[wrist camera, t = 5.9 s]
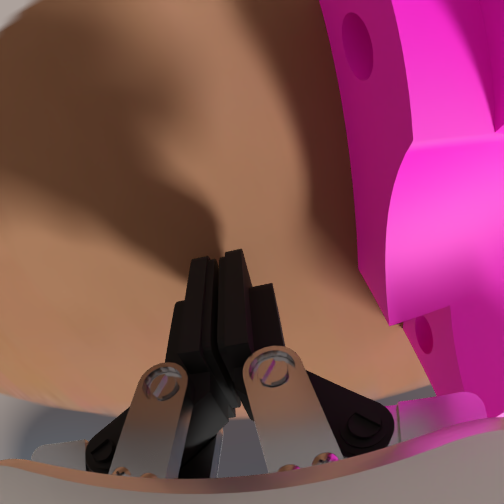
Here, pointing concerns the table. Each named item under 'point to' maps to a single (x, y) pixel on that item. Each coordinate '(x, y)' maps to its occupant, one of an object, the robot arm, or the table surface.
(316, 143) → the table surface
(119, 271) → the table surface
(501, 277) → the magenta curved block
